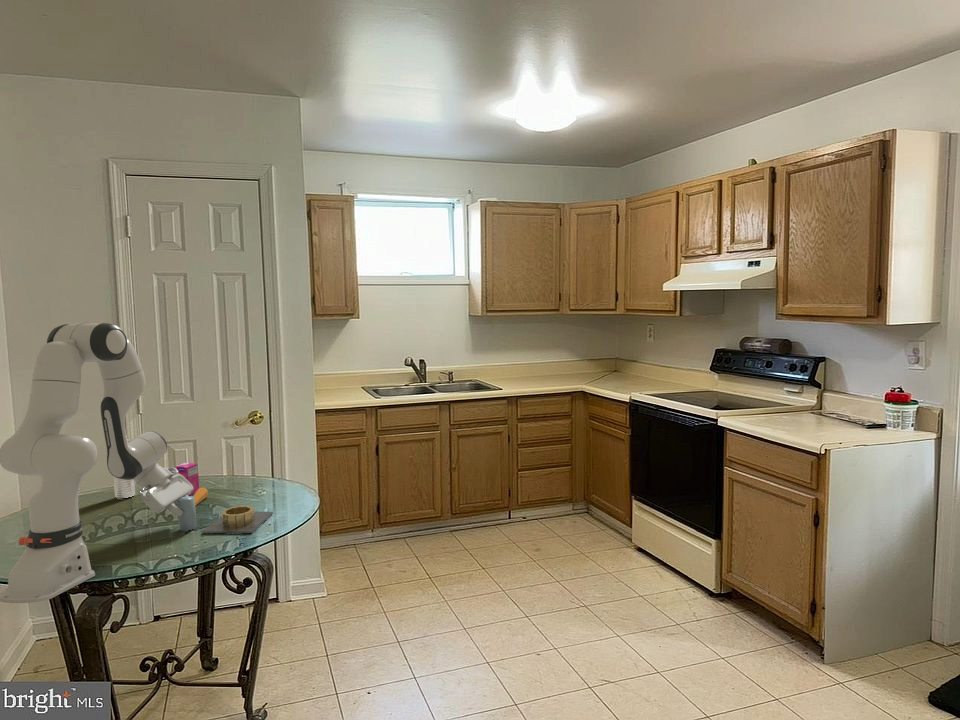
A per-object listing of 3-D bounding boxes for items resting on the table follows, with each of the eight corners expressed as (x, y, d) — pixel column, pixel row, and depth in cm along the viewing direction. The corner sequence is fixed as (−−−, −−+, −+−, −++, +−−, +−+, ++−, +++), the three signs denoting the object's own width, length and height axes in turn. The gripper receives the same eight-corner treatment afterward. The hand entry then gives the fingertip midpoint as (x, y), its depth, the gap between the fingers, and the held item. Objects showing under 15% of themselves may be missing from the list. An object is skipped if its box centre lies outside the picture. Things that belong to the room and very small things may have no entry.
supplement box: (176, 496, 248) (174, 466, 246) (187, 491, 253) (185, 462, 252) (189, 497, 246) (187, 467, 245) (200, 492, 252) (198, 463, 250)
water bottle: (126, 500, 244) (121, 434, 241) (110, 499, 245) (105, 433, 243) (139, 494, 251) (134, 430, 248) (124, 494, 252) (118, 430, 249)
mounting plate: (251, 533, 205) (251, 530, 205) (202, 534, 206) (201, 531, 206) (273, 514, 223) (272, 511, 223) (227, 514, 224) (227, 512, 224)
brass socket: (247, 526, 209) (246, 515, 209) (217, 526, 210) (216, 515, 210) (259, 515, 219) (258, 505, 219) (230, 516, 220) (230, 505, 219)
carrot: (201, 499, 246) (195, 488, 245) (211, 494, 246) (206, 484, 245) (180, 522, 226) (174, 511, 225) (192, 517, 226) (186, 506, 225)
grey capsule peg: (192, 531, 209) (189, 500, 208) (176, 531, 209) (174, 501, 208) (199, 525, 214) (197, 496, 213) (184, 525, 214) (182, 496, 213)
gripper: (143, 484, 200) (176, 515, 200) (178, 466, 220) (208, 494, 221) (130, 498, 201) (163, 529, 201) (166, 479, 221) (196, 507, 221)
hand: (187, 510), depth 211 cm, fingers closed on grey capsule peg, 5 cm apart
